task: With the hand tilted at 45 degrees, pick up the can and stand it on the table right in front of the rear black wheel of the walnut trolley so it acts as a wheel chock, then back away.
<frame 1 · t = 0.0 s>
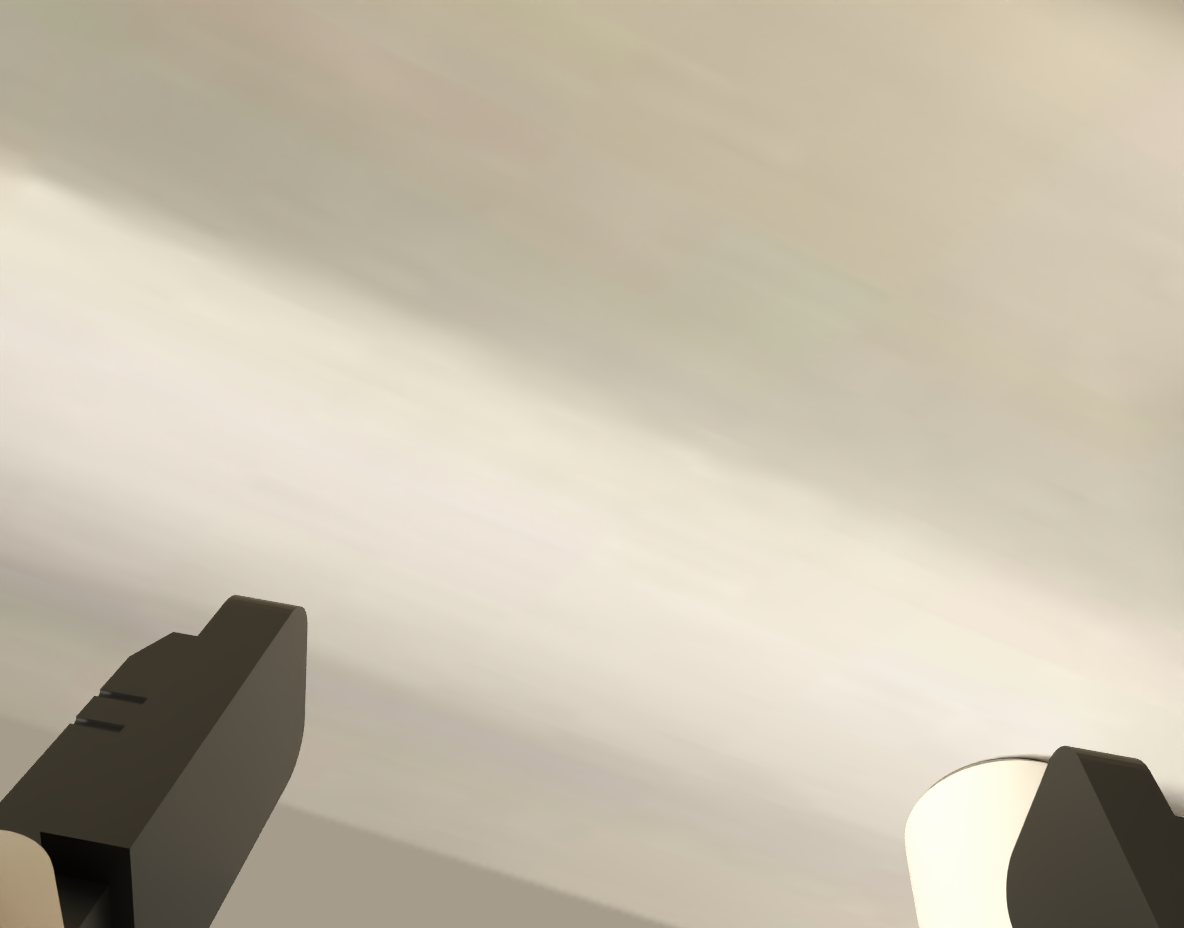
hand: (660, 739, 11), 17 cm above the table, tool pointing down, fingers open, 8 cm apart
can: (1004, 821, 34), on the table
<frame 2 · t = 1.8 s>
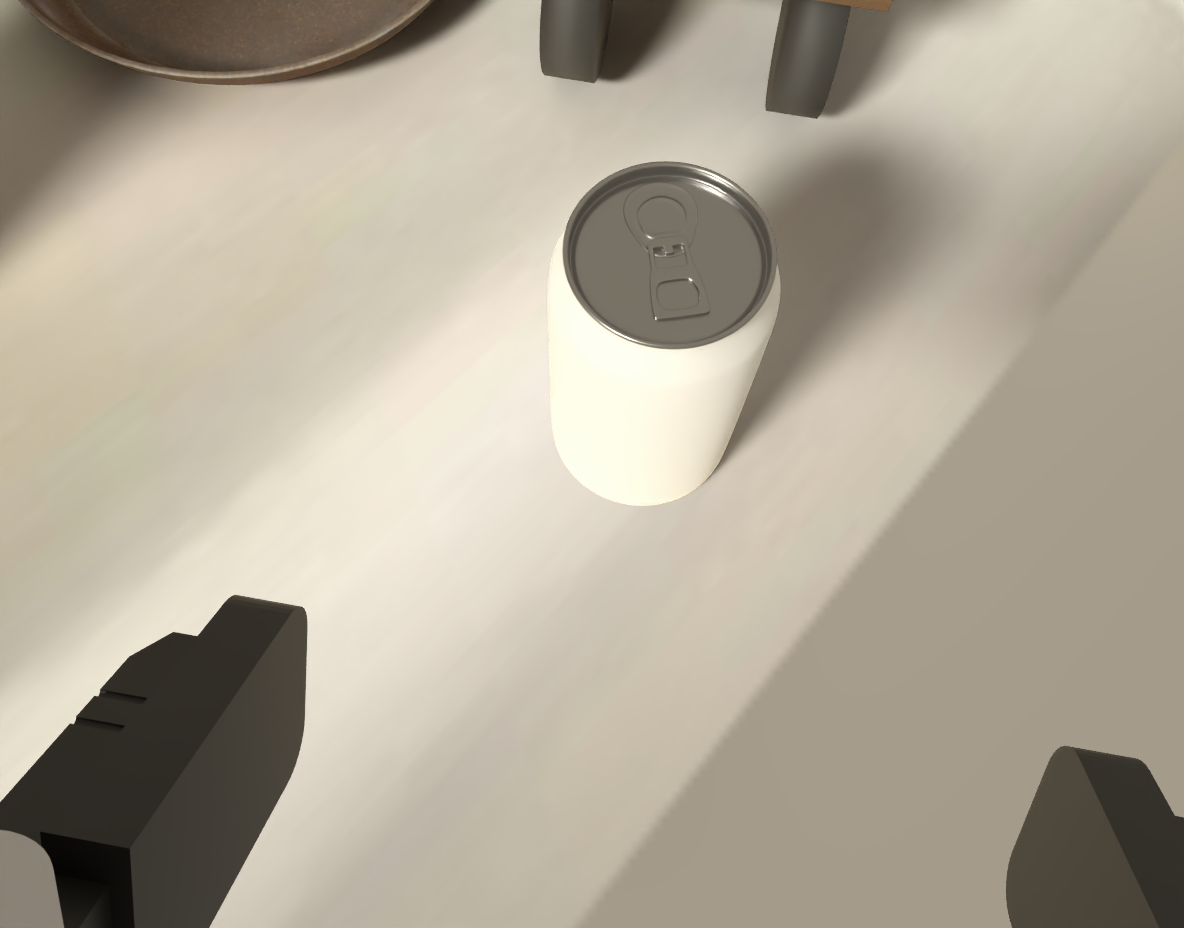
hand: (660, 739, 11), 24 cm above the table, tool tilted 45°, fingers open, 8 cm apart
can: (639, 428, 39), on the table
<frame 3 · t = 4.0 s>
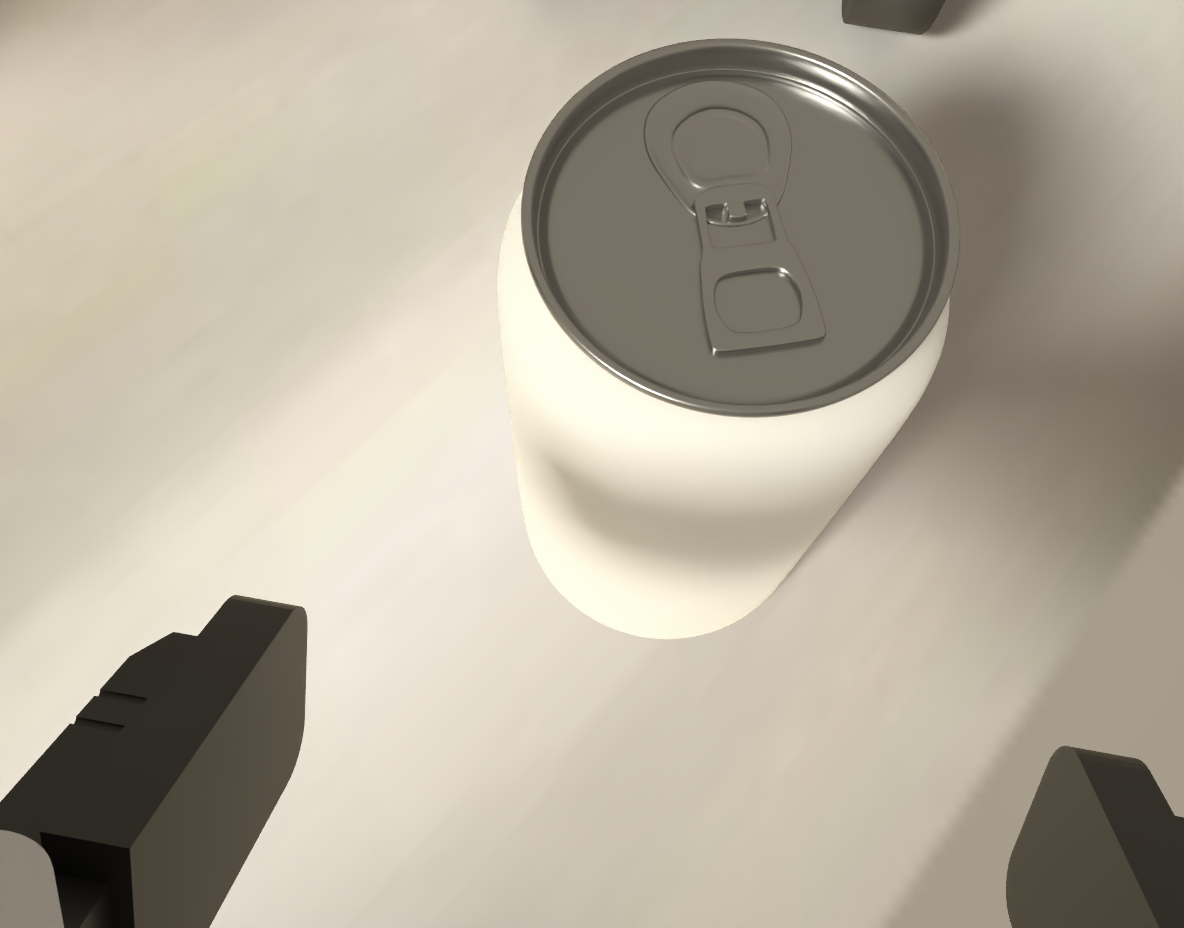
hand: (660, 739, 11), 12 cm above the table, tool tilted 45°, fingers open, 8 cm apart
can: (661, 508, 25), on the table
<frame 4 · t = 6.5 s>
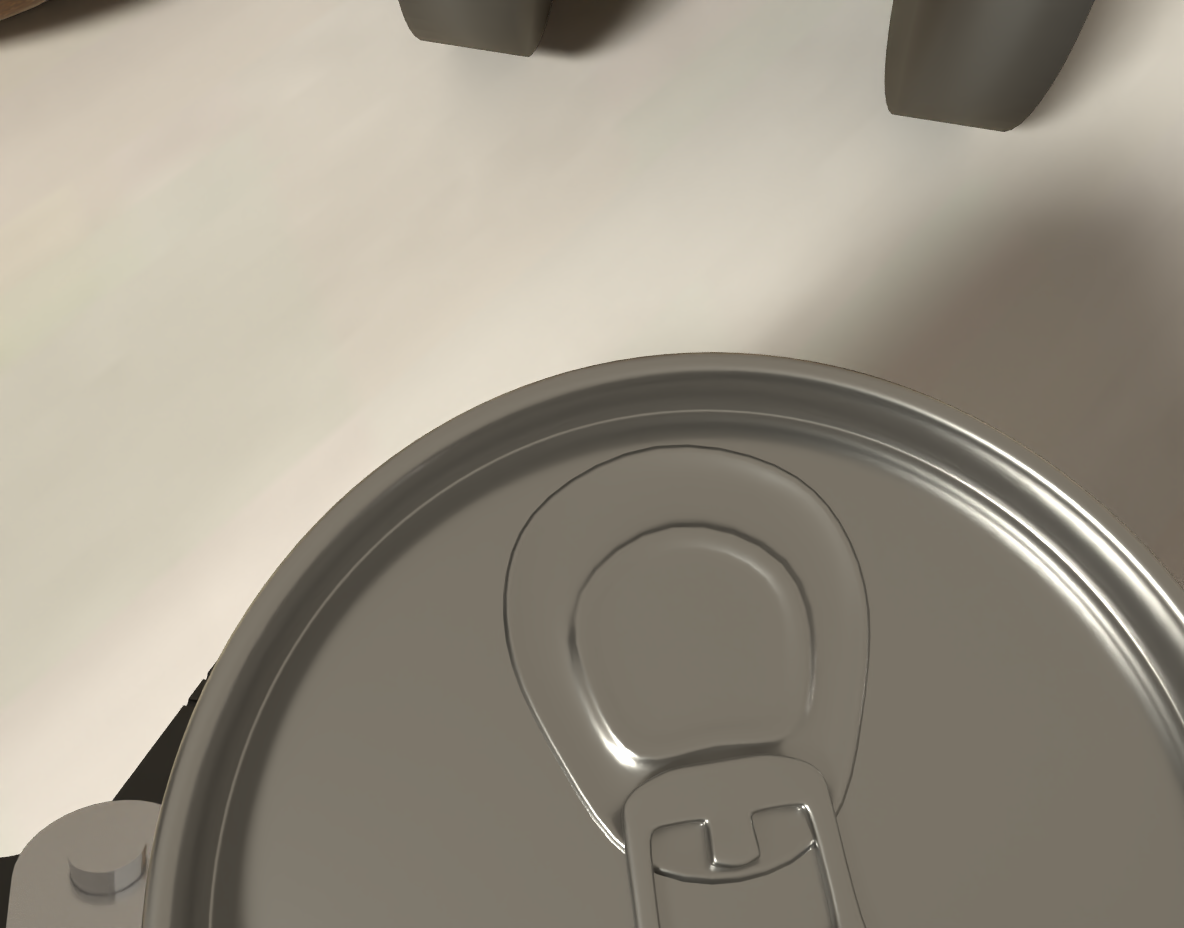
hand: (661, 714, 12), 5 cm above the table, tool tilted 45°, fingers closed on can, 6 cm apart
can: (618, 869, 16), on the table, touching gripper
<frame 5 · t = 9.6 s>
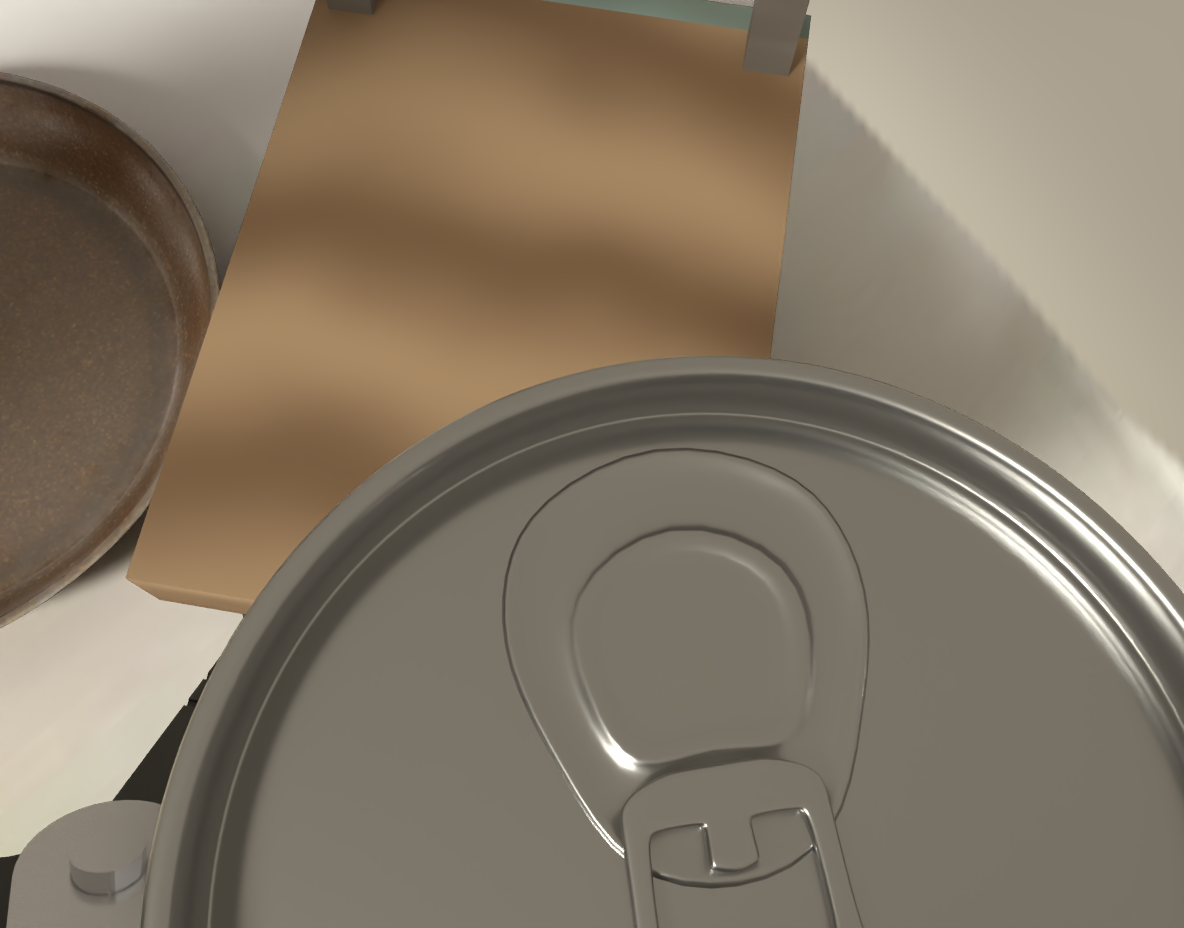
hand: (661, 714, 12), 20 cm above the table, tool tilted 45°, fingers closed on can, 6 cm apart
can: (618, 870, 16), point 15 cm above the table, touching gripper
trolley: (521, 436, 35), on the table
when the fingers open (7 cm above the table, at t = 12.8 s): can drops 1 cm, on the table.
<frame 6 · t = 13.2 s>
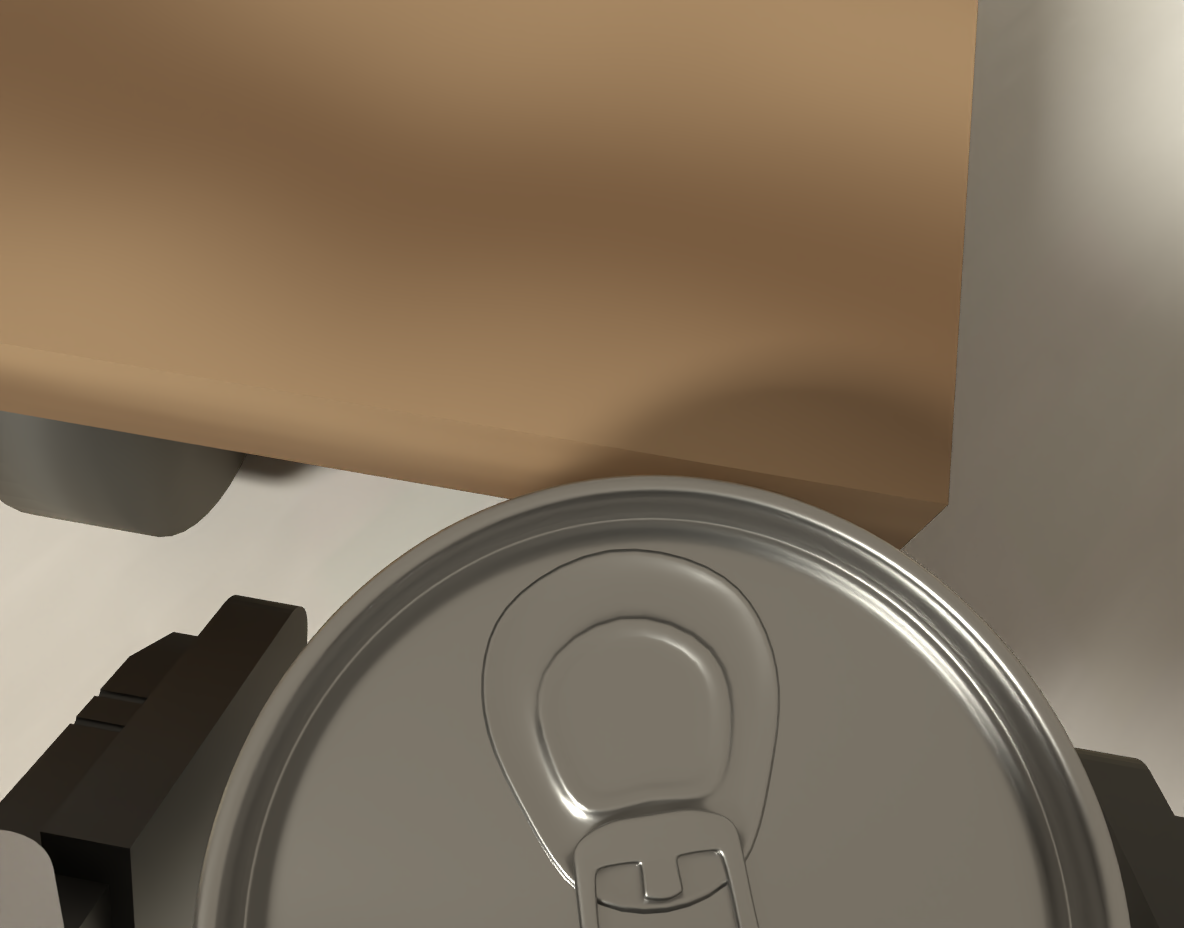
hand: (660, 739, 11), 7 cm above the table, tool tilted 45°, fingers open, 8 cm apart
can: (604, 879, 18), on the table
trolley: (495, 219, 22), on the table
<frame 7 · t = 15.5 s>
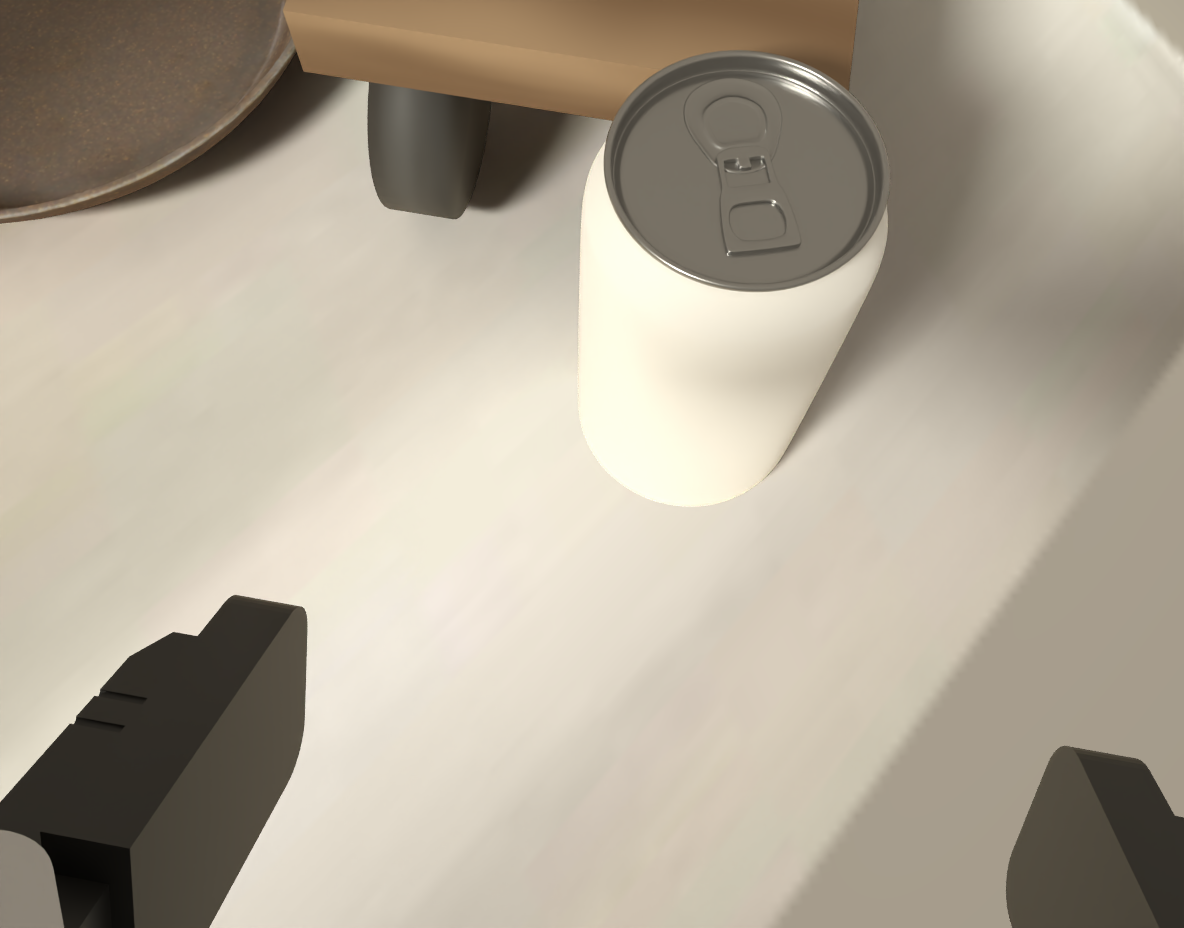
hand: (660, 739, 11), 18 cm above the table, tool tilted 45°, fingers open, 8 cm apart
plant saucer: (51, 22, 37), on the table
can: (684, 412, 32), on the table
trolley: (610, 67, 36), on the table
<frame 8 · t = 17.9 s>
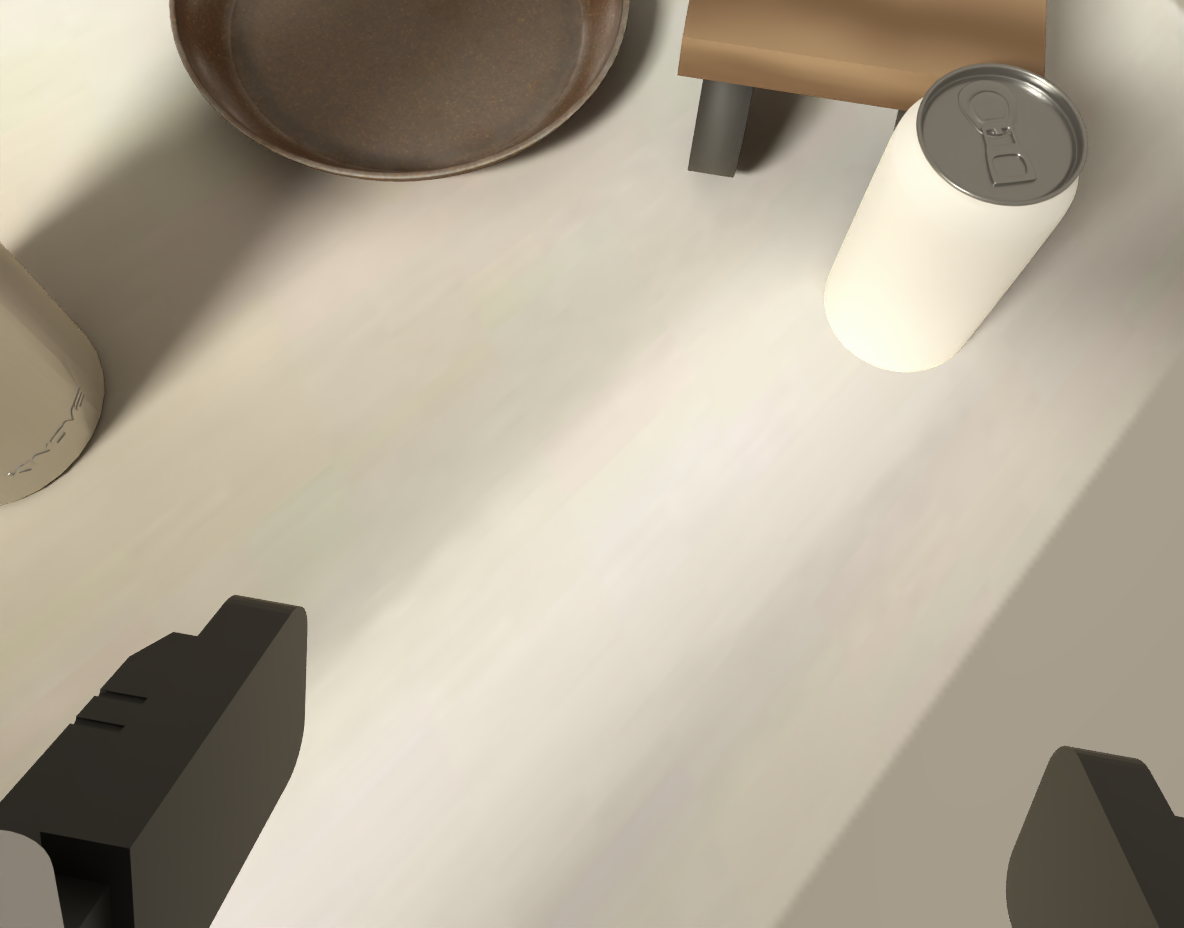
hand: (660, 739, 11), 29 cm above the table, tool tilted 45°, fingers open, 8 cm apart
plant saucer: (412, 37, 51), on the table
can: (894, 311, 46), on the table
trolley: (822, 71, 50), on the table
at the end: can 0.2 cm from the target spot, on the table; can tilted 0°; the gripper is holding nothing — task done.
